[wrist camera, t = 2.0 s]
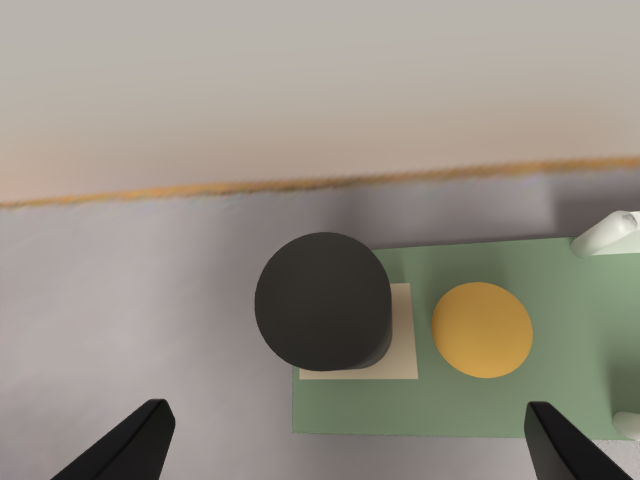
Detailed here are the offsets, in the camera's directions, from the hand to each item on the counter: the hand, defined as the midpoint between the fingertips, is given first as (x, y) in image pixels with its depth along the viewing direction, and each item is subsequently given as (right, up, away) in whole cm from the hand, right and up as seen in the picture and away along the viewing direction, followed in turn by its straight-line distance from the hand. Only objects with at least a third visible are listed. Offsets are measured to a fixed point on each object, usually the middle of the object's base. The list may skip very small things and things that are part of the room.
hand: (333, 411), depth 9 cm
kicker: (+2, 0, +9) cm, 9 cm away
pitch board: (+9, 0, +9) cm, 13 cm away
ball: (+7, 0, +7) cm, 9 cm away
